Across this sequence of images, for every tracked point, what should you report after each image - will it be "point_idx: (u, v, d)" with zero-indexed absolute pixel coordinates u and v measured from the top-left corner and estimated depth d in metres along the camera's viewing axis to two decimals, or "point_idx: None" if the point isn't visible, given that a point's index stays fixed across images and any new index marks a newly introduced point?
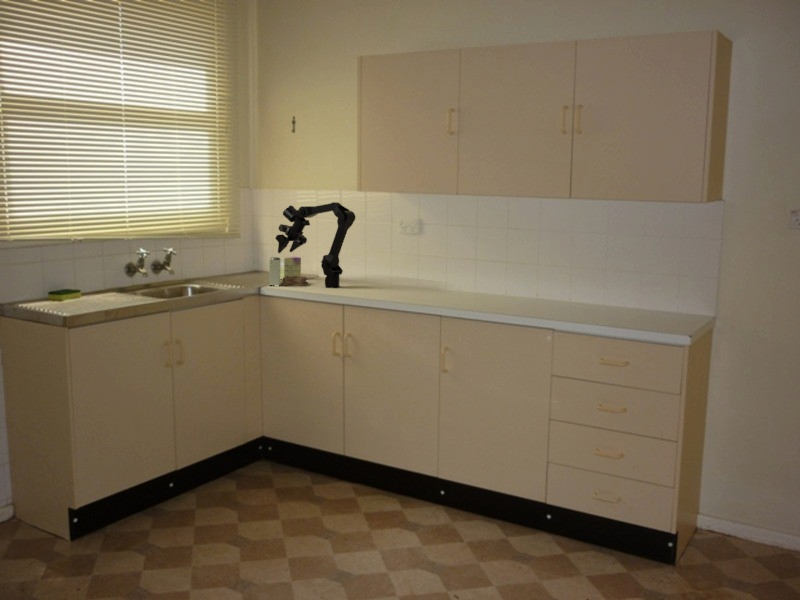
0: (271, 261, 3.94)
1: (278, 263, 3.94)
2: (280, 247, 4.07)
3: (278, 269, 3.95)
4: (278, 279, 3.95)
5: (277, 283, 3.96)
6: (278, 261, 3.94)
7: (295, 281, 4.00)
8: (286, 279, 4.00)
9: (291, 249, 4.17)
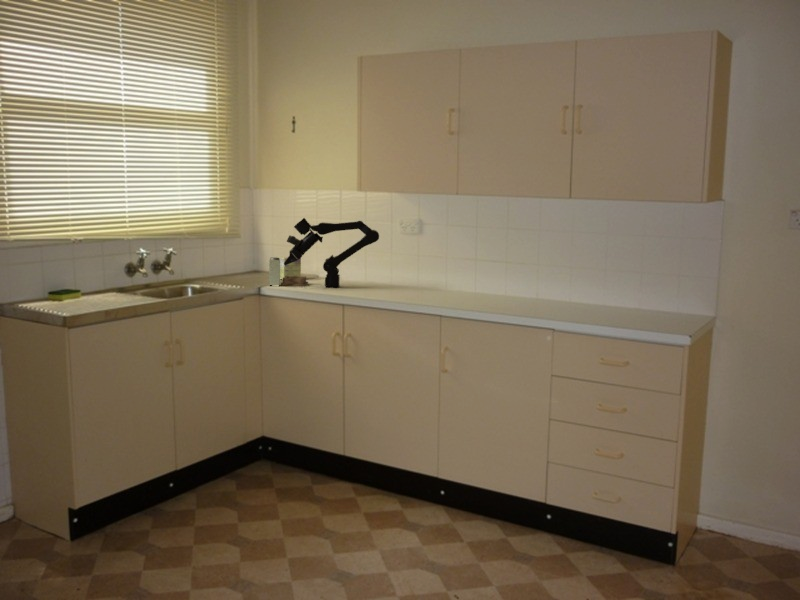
0: (271, 261, 3.94)
1: (278, 263, 3.94)
2: (289, 260, 3.91)
3: (278, 269, 3.95)
4: (278, 279, 3.95)
5: (277, 283, 3.96)
6: (278, 261, 3.94)
7: (295, 281, 4.00)
8: (286, 279, 4.00)
9: None
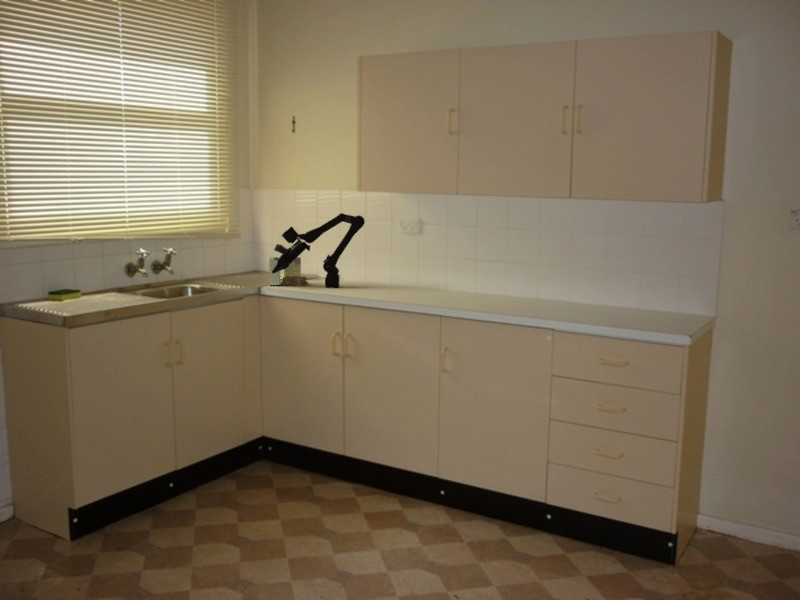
0: (271, 261, 3.94)
1: None
2: (277, 268, 3.93)
3: None
4: (278, 279, 3.95)
5: (277, 283, 3.96)
6: None
7: (295, 281, 4.00)
8: (286, 279, 4.00)
9: None
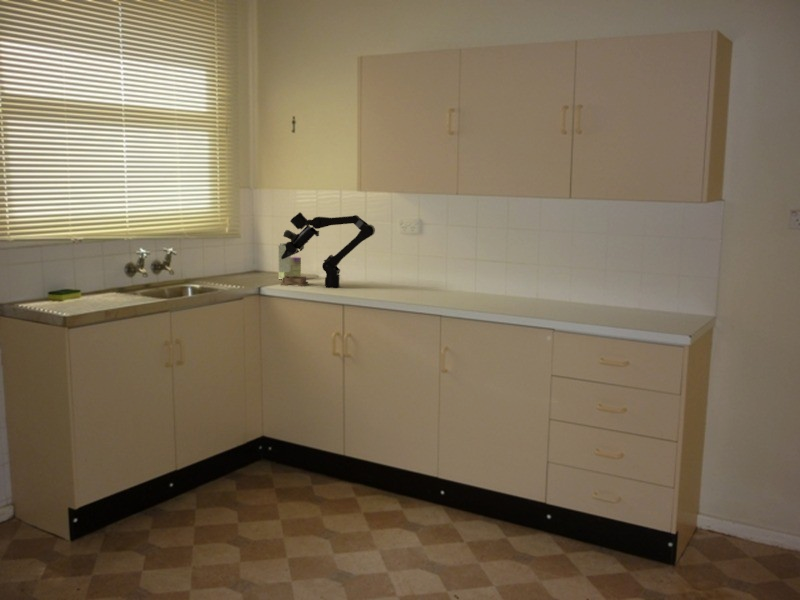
0: (280, 247, 3.97)
1: None
2: (286, 254, 3.96)
3: None
4: (287, 265, 3.98)
5: (286, 269, 3.98)
6: None
7: (295, 281, 4.00)
8: (286, 279, 4.00)
9: None
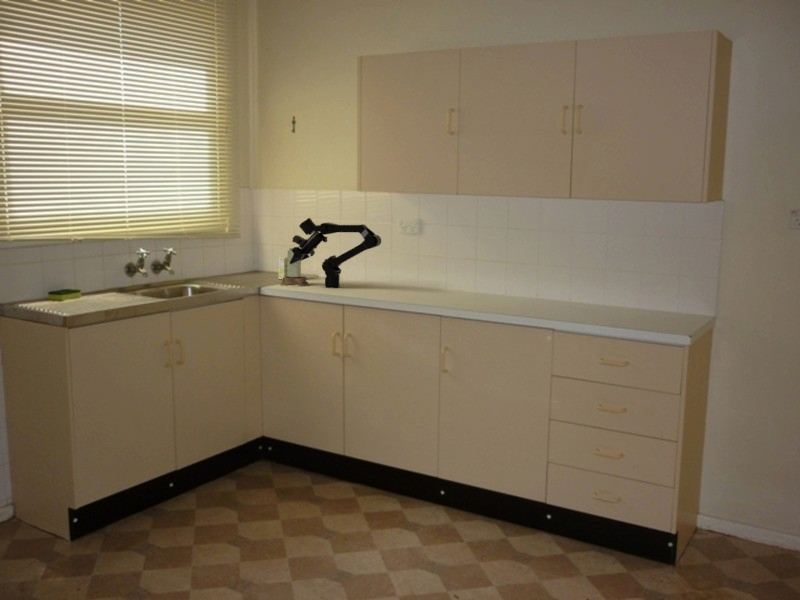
0: (289, 252, 4.00)
1: None
2: (294, 259, 3.99)
3: None
4: (296, 270, 4.01)
5: (295, 273, 4.01)
6: None
7: (295, 281, 4.00)
8: (286, 279, 4.00)
9: None
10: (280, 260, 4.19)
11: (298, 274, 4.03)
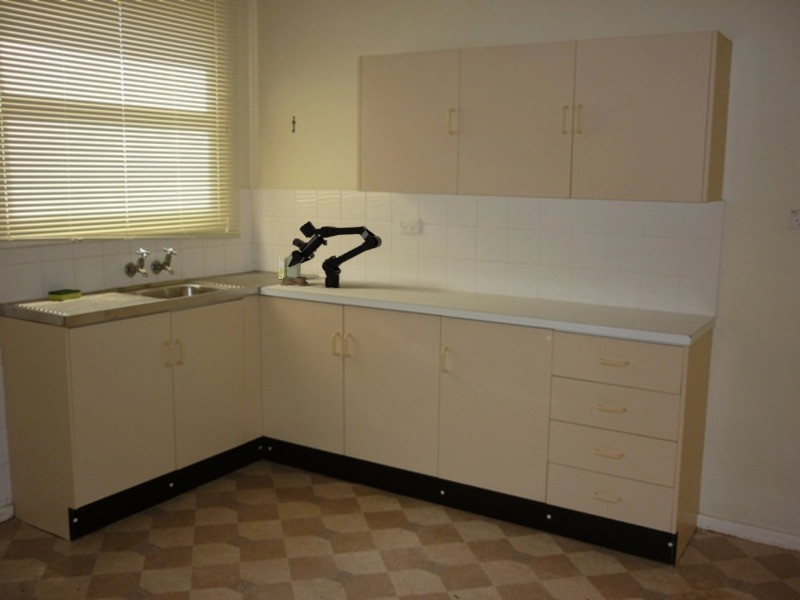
0: (289, 258, 4.01)
1: None
2: (293, 262, 3.97)
3: (295, 266, 4.01)
4: (295, 276, 4.01)
5: None
6: None
7: (295, 281, 4.00)
8: (286, 279, 4.00)
9: None
10: (280, 260, 4.19)
11: None
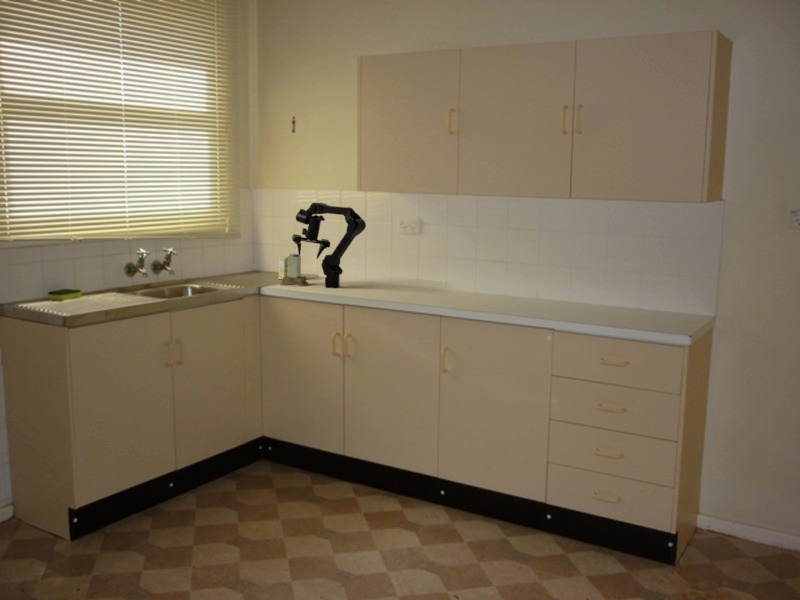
0: (289, 258, 4.01)
1: (295, 260, 4.00)
2: (298, 248, 4.03)
3: (295, 266, 4.01)
4: (295, 276, 4.01)
5: None
6: (295, 258, 4.00)
7: (295, 281, 4.00)
8: (286, 279, 4.00)
9: (317, 255, 4.07)
10: (280, 260, 4.19)
11: None
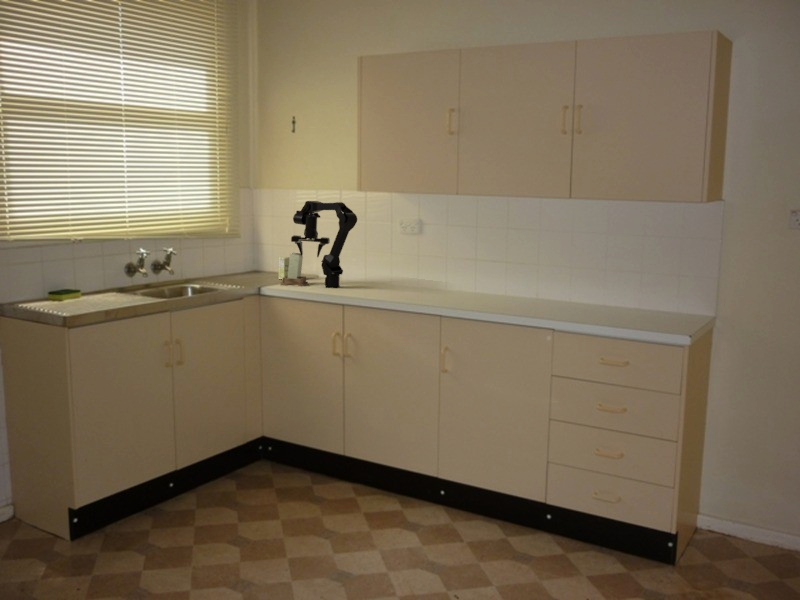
0: (291, 255, 4.04)
1: (297, 257, 4.03)
2: None
3: (297, 263, 4.03)
4: (296, 273, 4.02)
5: (295, 277, 4.02)
6: (297, 256, 4.03)
7: (295, 281, 4.00)
8: (286, 279, 4.00)
9: None
10: (280, 260, 4.19)
11: None
